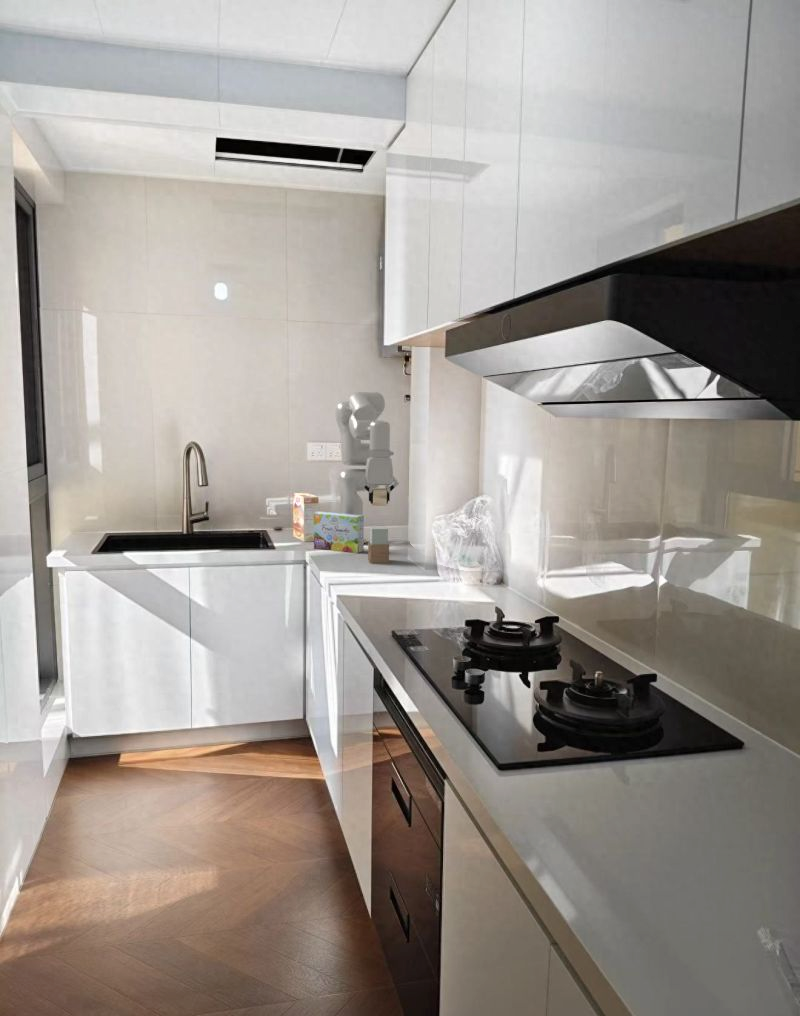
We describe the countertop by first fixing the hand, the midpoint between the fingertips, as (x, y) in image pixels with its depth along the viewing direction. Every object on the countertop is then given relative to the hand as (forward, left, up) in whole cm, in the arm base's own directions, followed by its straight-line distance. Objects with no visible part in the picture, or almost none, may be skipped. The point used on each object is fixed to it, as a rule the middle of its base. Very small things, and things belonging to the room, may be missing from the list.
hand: (379, 502), depth 313 cm
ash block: (0, 0, -1) cm, 1 cm away
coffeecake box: (-55, -25, -23) cm, 65 cm away
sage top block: (0, 0, -16) cm, 16 cm away
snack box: (-26, -13, -23) cm, 37 cm away
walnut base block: (0, 0, -23) cm, 23 cm away
